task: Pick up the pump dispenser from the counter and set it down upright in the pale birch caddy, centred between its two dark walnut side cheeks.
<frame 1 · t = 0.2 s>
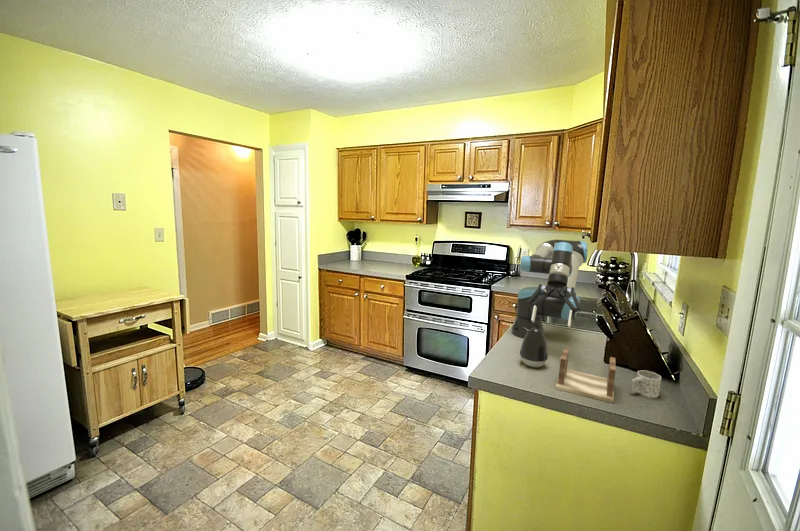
hand: (550, 324, 142), 16 cm above the worktop, tool tilted 35°, fingers open, 13 cm apart
mug: (642, 394, 120), on the worktop
caddy: (585, 385, 124), on the worktop
pump dispenser: (532, 365, 141), on the worktop
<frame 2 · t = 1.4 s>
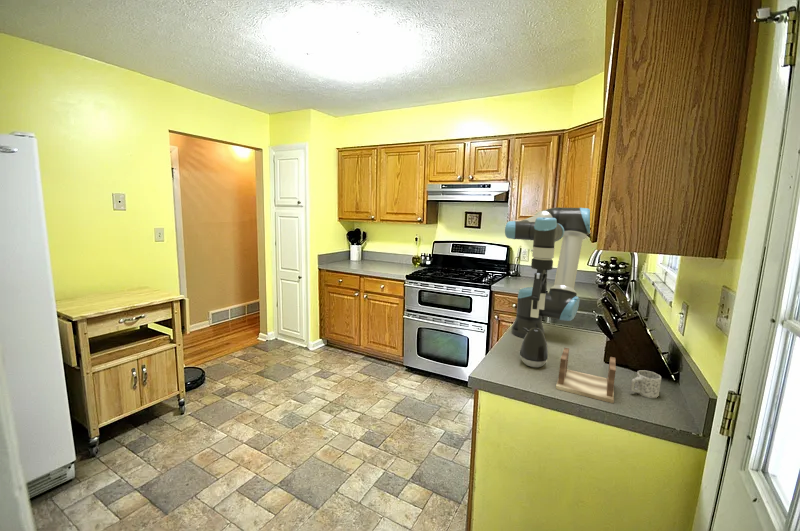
hand: (537, 313, 137), 21 cm above the worktop, tool pointing down, fingers open, 13 cm apart
nothing on the worktop moved.
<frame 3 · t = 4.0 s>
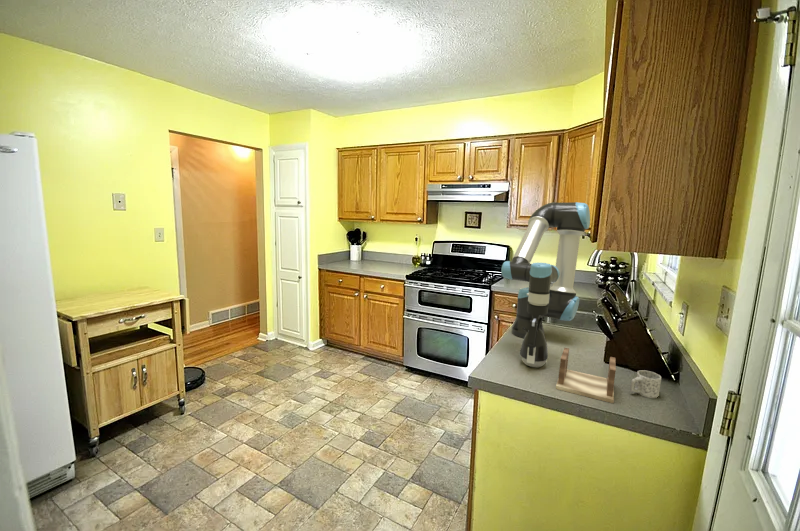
hand: (533, 357, 140), 3 cm above the worktop, tool pointing down, fingers closed on pump dispenser, 10 cm apart
pump dispenser: (532, 364, 141), on the worktop, touching gripper
everything else where it was.
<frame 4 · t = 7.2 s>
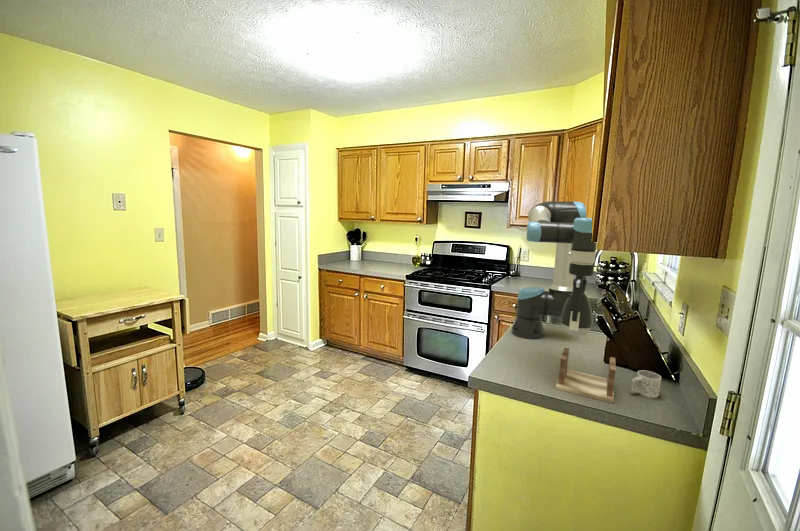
hand: (575, 325, 125), 20 cm above the worktop, tool pointing down, fingers closed on pump dispenser, 10 cm apart
pump dispenser: (574, 333, 125), point 17 cm above the worktop, touching gripper
everything else where it was.
when the fingers open (5 cm above the worktop, at t = 10.7 s): pump dispenser drops 1 cm, resting on caddy.
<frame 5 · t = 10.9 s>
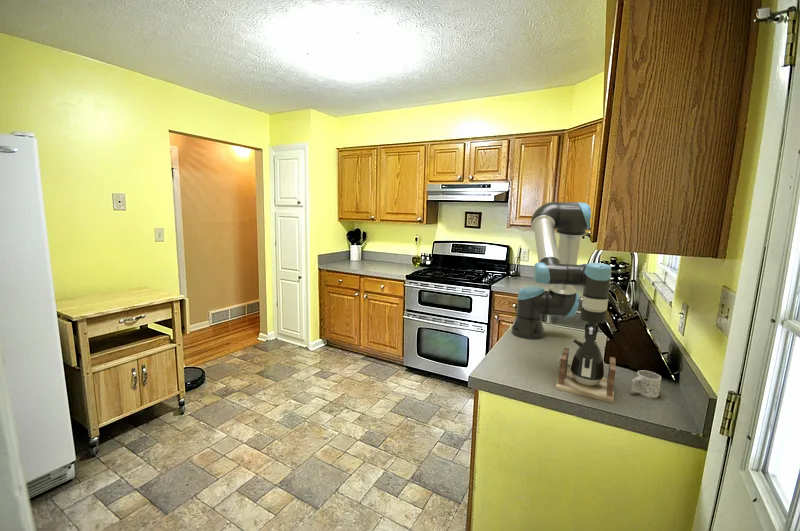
hand: (587, 368, 123), 6 cm above the worktop, tool pointing down, fingers open, 13 cm apart
pump dispenser: (585, 382, 124), point 1 cm above the worktop, touching caddy
everything else where it was.
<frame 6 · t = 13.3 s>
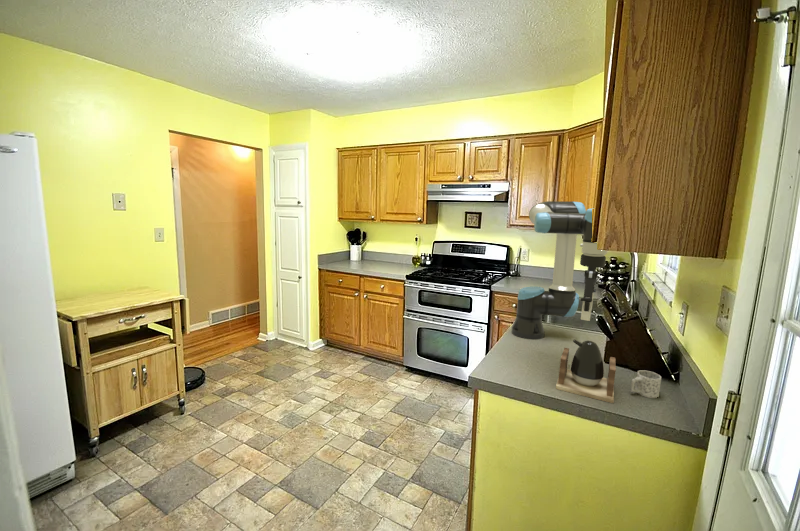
hand: (586, 314, 125), 24 cm above the worktop, tool pointing down, fingers open, 13 cm apart
nothing on the worktop moved.
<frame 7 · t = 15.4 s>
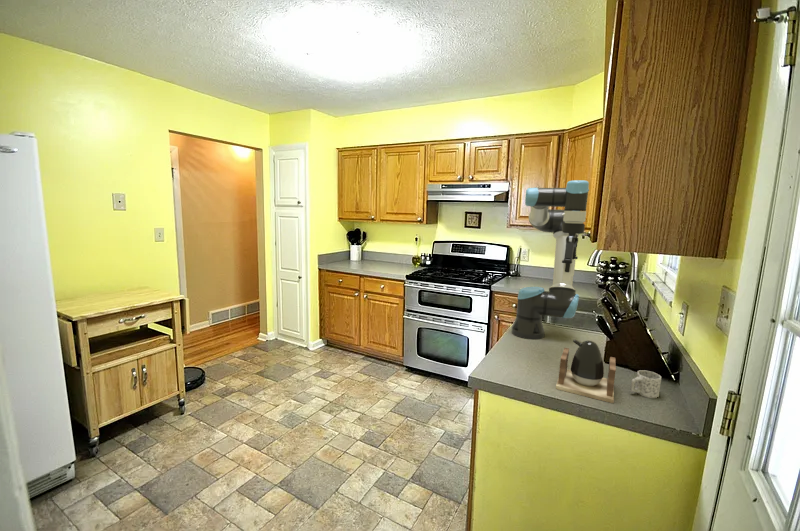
hand: (568, 277, 137), 35 cm above the worktop, tool pointing down, fingers open, 13 cm apart
nothing on the worktop moved.
at the end: pump dispenser 0.2 cm off-centre on the caddy, point 1.0 cm above the caddy's base; pump dispenser tilted 0°; the gripper is holding nothing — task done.
